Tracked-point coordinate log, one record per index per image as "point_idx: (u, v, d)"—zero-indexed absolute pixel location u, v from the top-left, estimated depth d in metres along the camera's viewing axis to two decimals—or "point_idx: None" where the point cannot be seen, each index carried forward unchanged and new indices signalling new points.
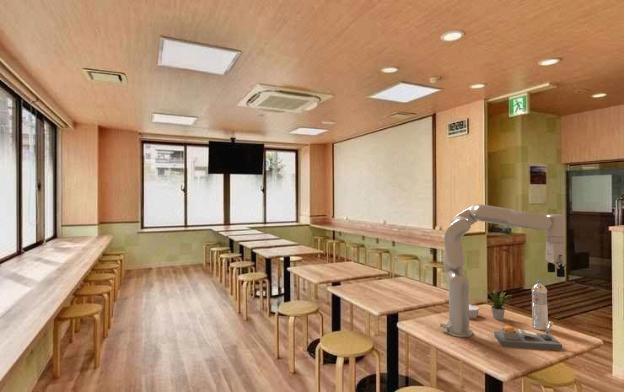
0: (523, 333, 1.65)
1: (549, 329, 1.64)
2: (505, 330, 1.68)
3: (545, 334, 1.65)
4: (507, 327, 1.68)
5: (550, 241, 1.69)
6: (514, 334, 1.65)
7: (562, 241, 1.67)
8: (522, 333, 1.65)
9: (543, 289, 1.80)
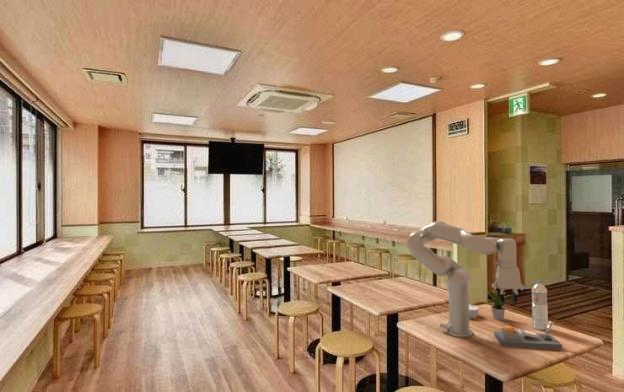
0: (523, 333, 1.65)
1: (549, 329, 1.64)
2: (505, 330, 1.68)
3: (545, 334, 1.65)
4: (507, 327, 1.68)
5: (514, 267, 1.65)
6: (514, 334, 1.65)
7: None
8: (522, 333, 1.65)
9: (543, 289, 1.80)
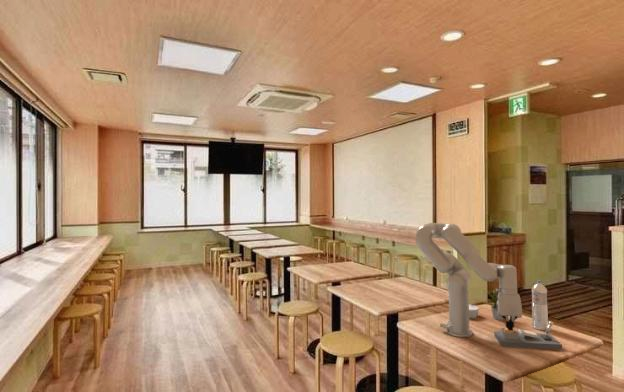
0: (523, 333, 1.65)
1: (549, 329, 1.64)
2: None
3: (545, 334, 1.65)
4: (507, 329, 1.68)
5: (515, 294, 1.65)
6: (514, 334, 1.65)
7: None
8: (522, 333, 1.65)
9: (543, 289, 1.80)
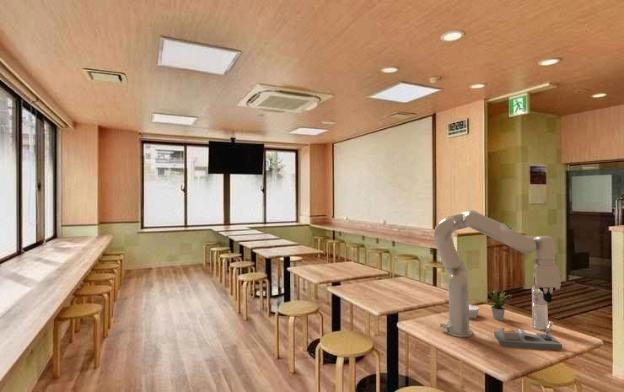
0: (523, 333, 1.65)
1: (549, 329, 1.64)
2: None
3: (545, 334, 1.65)
4: (507, 330, 1.68)
5: (553, 264, 1.61)
6: (514, 334, 1.65)
7: None
8: (522, 333, 1.65)
9: None
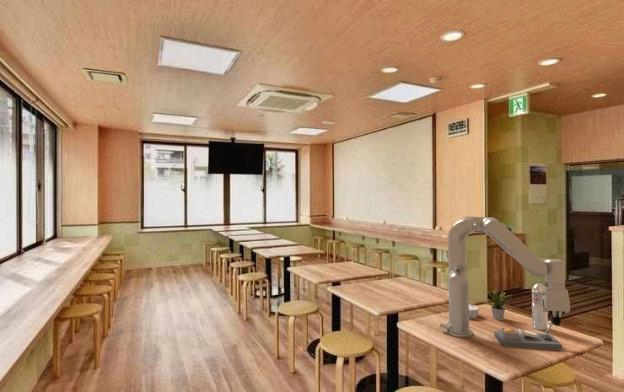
0: (523, 333, 1.65)
1: (549, 329, 1.64)
2: None
3: (545, 334, 1.65)
4: (507, 330, 1.68)
5: (563, 288, 1.61)
6: (514, 334, 1.65)
7: None
8: (522, 333, 1.65)
9: (543, 289, 1.80)
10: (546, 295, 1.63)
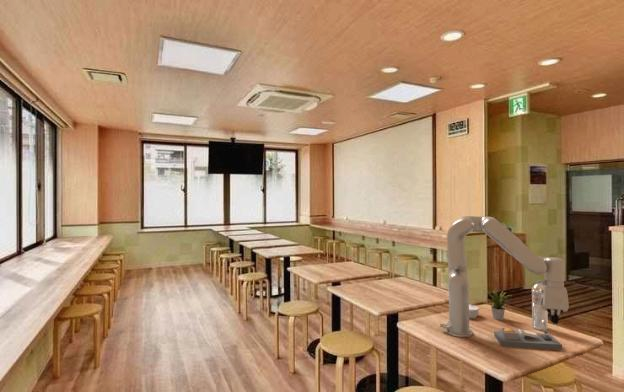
0: (523, 333, 1.65)
1: (545, 328, 1.65)
2: None
3: (545, 335, 1.65)
4: (507, 330, 1.68)
5: (562, 287, 1.61)
6: (514, 334, 1.65)
7: None
8: (522, 333, 1.65)
9: None
10: (545, 293, 1.63)
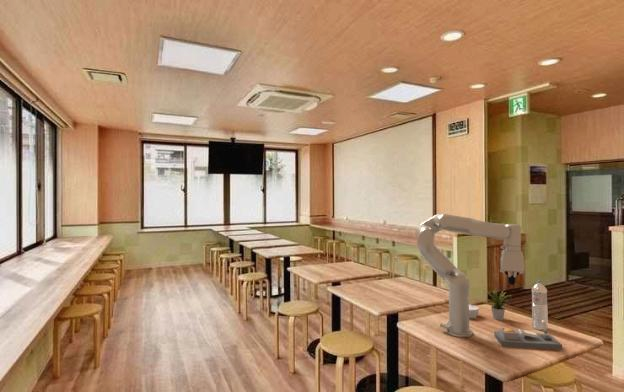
0: (523, 333, 1.65)
1: (545, 328, 1.65)
2: None
3: (545, 335, 1.65)
4: (507, 330, 1.68)
5: (518, 250, 1.74)
6: (514, 334, 1.65)
7: None
8: (522, 333, 1.65)
9: (543, 289, 1.80)
10: (503, 256, 1.77)
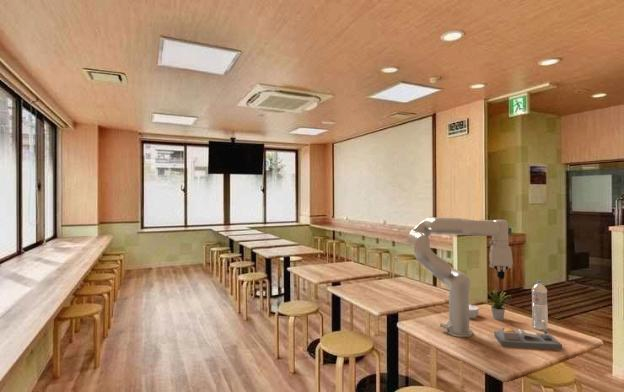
0: (523, 333, 1.65)
1: (545, 328, 1.65)
2: None
3: (545, 335, 1.65)
4: (507, 330, 1.68)
5: (506, 245, 1.78)
6: (514, 334, 1.65)
7: None
8: (522, 333, 1.65)
9: (543, 289, 1.80)
10: (492, 252, 1.81)
